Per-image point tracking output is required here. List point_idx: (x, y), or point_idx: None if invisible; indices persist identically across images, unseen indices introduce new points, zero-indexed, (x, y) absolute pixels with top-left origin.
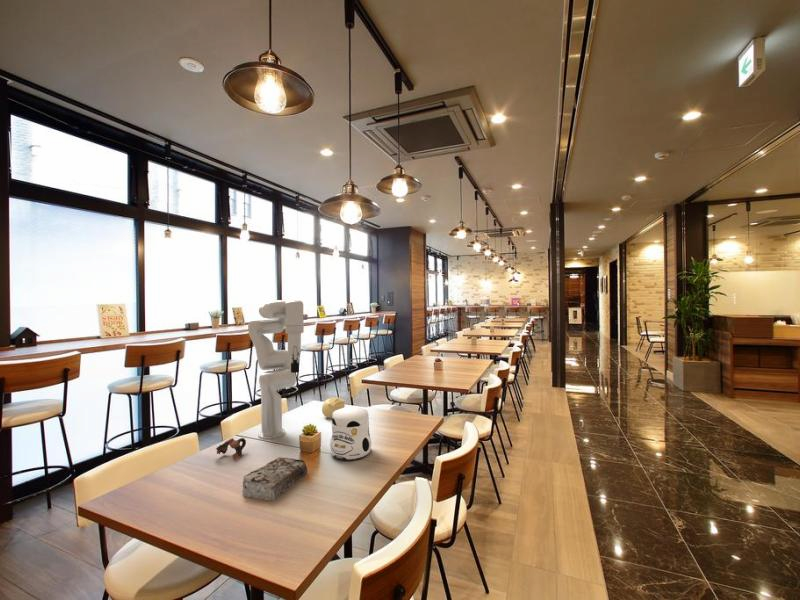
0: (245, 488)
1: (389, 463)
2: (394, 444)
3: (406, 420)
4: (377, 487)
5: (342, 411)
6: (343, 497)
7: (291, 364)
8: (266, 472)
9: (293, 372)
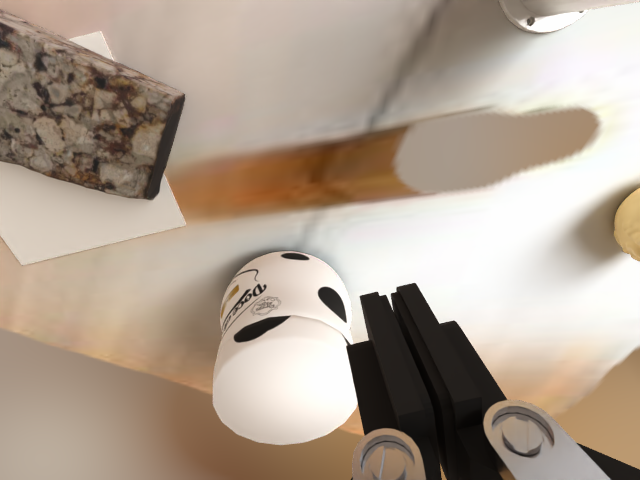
0: None
1: None
2: None
3: None
4: (109, 356)
5: (305, 372)
6: (51, 296)
7: (395, 401)
8: (10, 85)
9: (364, 318)
